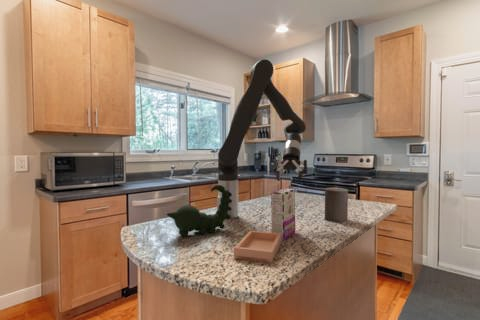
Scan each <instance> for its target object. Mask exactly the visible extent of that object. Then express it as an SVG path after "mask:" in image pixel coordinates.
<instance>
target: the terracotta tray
mask: <svg viewBox="0 0 480 320" xmlns="http://www.w3.org/2000/svg"><path fill="white" fill-rule="evenodd" d="M282 242H283V240H282V234H281V233H272V232H268V231H257V230H249V231H248V232H247V233H246V234H245V235H244V237H243V238H242V239H240V241H239V242H238V243H237V244H236V245H235V246H234V247H233V259H236V260H237V259H238V260H245V261H253V262H260V261H261V262H262V261H263V263H269V262H272V263H273V262H274V260H275V259H276V258H275V257H276V256H277V253H278V251H279V249H280V247H281V245H282ZM261 262H260V263H261Z"/></svg>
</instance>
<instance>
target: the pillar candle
mask: <svg viewBox="0 0 480 320" xmlns="http://www.w3.org/2000/svg"><path fill="white" fill-rule="evenodd" d="M348 201H349V190H348V189H347V188H342V187H326V188H325V189H324V220H326V221H328V222H331V223H345V222H348V210H349V209H348V208H349V207H348V206H349V204H348V203H349V202H348Z"/></svg>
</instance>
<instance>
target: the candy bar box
mask: <svg viewBox="0 0 480 320" xmlns="http://www.w3.org/2000/svg"><path fill="white" fill-rule="evenodd" d="M295 191H296V189H294V188H281V189H278V190H275V191H271V192H270V194H271V195H270V196H271V197H270V199H271V201H270V202H271V208H270V209H271V233H281V234H282V242H283V241H284V242H285V241H286V240H287V239H288V238H289V237H291V236H292V235H294V234H295V233H296V200H295V199H296V198H295V197H296V195H295V193H296V192H295Z"/></svg>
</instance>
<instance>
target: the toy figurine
mask: <svg viewBox="0 0 480 320" xmlns="http://www.w3.org/2000/svg"><path fill="white" fill-rule="evenodd" d="M210 191H211V192H214V191H217V192H218V193H219V192H221V193H222V197H221V199H220V202H221V203H220V204H219V209H218V210H217V209H216V212H215V213H213V214H207V213H205V212H200V210H199V209H198V208H197V207H196V206H194V205H190V204H186V205H182V206H181V207H179V208H178V209H177V210H176V211H173V212H168V213H166V216H168V217H169V218H170V219H172V220H173V221H174V224H175V226H176V228H177V229H178V234H179V235H180V236H181V237H182V238H183V237H184V238H186V237H188V236H189V233H190V232H193V231H196V232H198V233H199V234H200V235H204V234H206V231H207V232H210V233H211V234H215V233H216V229H217V228H219V229H221V230H222V229H224V228H225V225H226V224H224V221H225V220H230V219H232V218H231V216H230V215H228V210H229V211H231V210H232V208H231V207H229V203H231V202H232V200H231V199H230V198H229V197H230V196H232V193H230V192H229V191H228V190H225V188H224V187H223V186H222V185H218V184H215V185H213V186H212V187H211V189H210Z"/></svg>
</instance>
